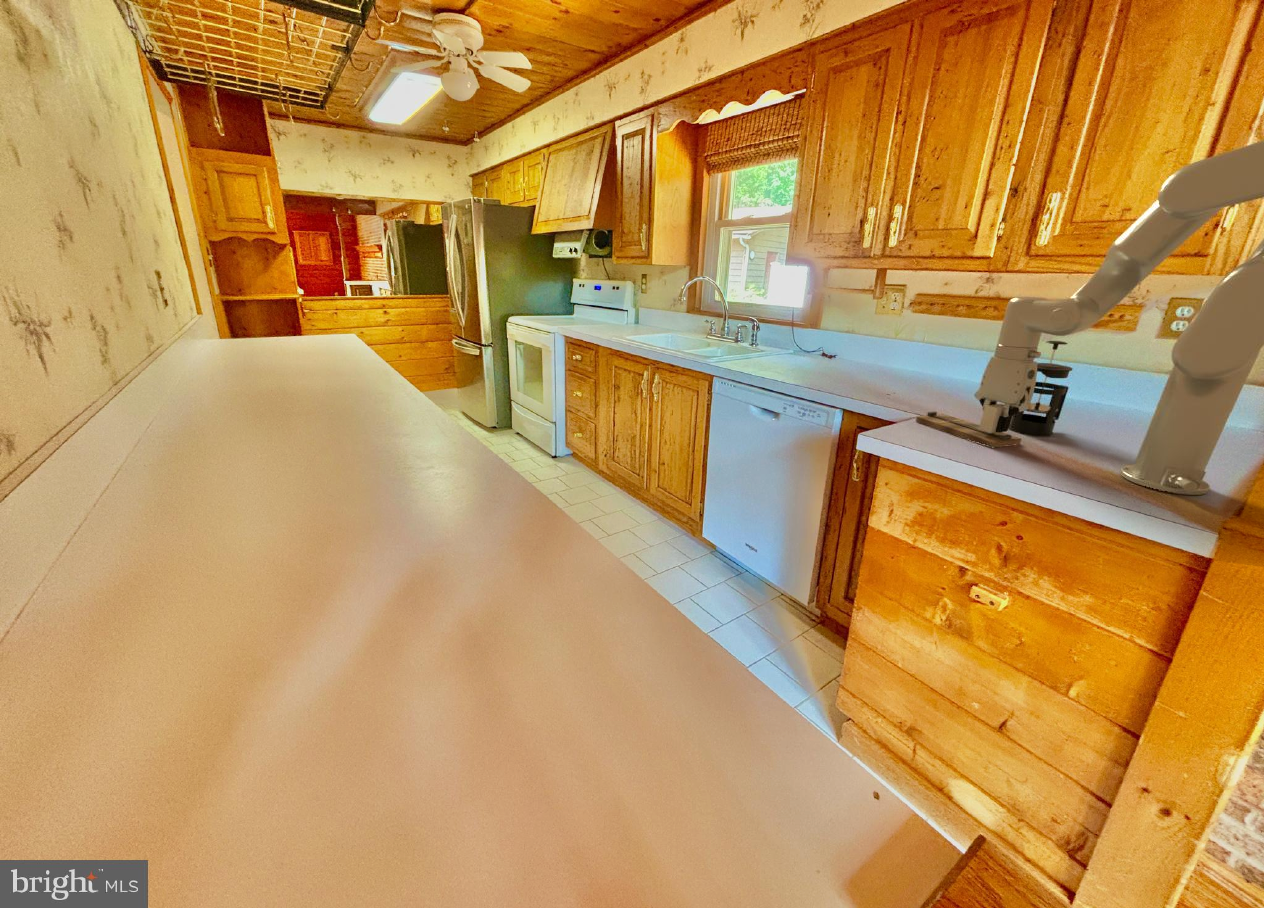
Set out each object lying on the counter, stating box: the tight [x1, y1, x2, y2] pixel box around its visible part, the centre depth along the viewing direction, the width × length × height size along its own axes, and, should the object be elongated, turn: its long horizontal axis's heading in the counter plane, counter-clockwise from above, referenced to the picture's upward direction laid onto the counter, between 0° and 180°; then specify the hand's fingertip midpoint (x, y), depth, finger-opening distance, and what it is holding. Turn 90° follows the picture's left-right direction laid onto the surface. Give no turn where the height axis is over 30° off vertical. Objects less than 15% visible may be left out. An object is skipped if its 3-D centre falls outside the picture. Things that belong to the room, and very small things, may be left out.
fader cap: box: [979, 403, 1013, 434], centre depth 121 cm, size 3×6×7 cm, turn 109°
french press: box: [1009, 340, 1073, 438], centre depth 126 cm, size 12×9×23 cm
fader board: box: [915, 411, 1022, 448], centre depth 129 cm, size 22×9×2 cm, turn 19°
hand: (993, 428), depth 122 cm, fingers closed on fader cap, 3 cm apart
